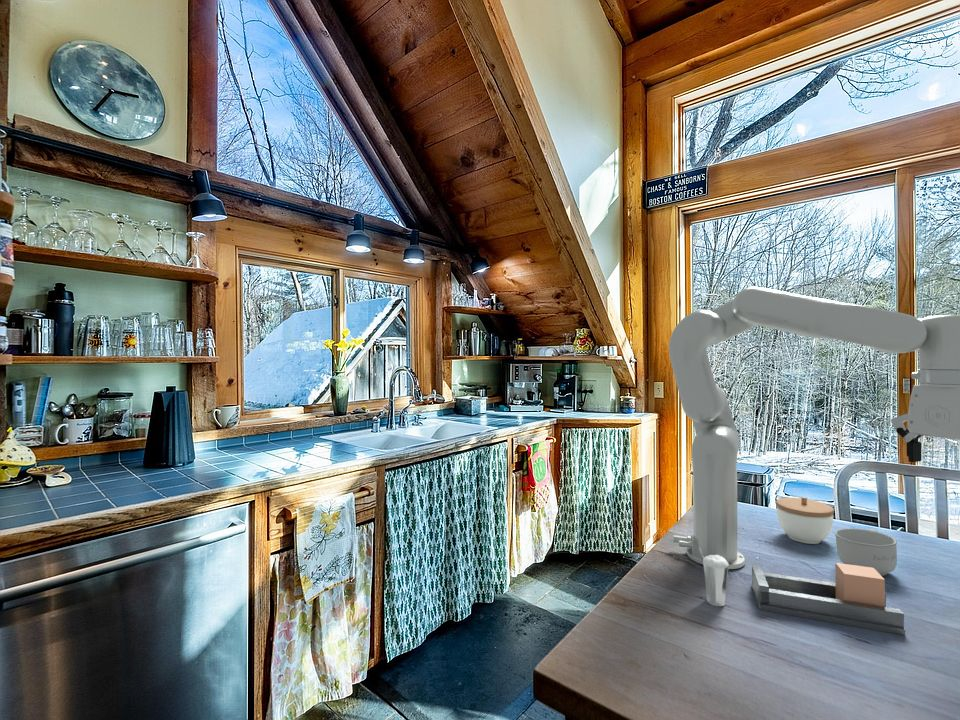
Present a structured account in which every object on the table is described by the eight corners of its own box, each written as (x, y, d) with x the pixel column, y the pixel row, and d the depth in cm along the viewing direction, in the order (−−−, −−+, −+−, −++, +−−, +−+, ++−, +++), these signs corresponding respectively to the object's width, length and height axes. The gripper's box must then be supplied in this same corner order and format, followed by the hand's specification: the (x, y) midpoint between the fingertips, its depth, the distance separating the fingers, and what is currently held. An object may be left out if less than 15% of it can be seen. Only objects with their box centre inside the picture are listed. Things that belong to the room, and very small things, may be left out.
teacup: (882, 586, 98) (882, 548, 98) (825, 565, 108) (825, 531, 108) (912, 571, 104) (912, 536, 104) (855, 553, 114) (856, 521, 114)
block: (844, 611, 86) (844, 573, 86) (835, 598, 91) (835, 562, 91) (884, 617, 84) (884, 579, 84) (873, 604, 88) (873, 567, 88)
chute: (759, 609, 89) (759, 586, 89) (751, 585, 98) (751, 564, 98) (905, 635, 81) (905, 609, 81) (881, 606, 90) (881, 583, 90)
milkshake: (703, 592, 96) (703, 544, 96) (731, 602, 92) (731, 552, 92) (695, 600, 93) (695, 551, 92) (724, 611, 89) (724, 559, 89)
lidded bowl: (767, 528, 130) (767, 489, 130) (816, 530, 129) (816, 491, 129) (791, 547, 118) (791, 504, 118) (845, 549, 116) (845, 506, 116)
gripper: (881, 377, 96) (881, 459, 97) (998, 381, 80) (998, 479, 81) (903, 376, 99) (902, 456, 99) (1020, 380, 83) (1020, 475, 83)
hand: (945, 466), depth 90 cm, fingers open, 9 cm apart
